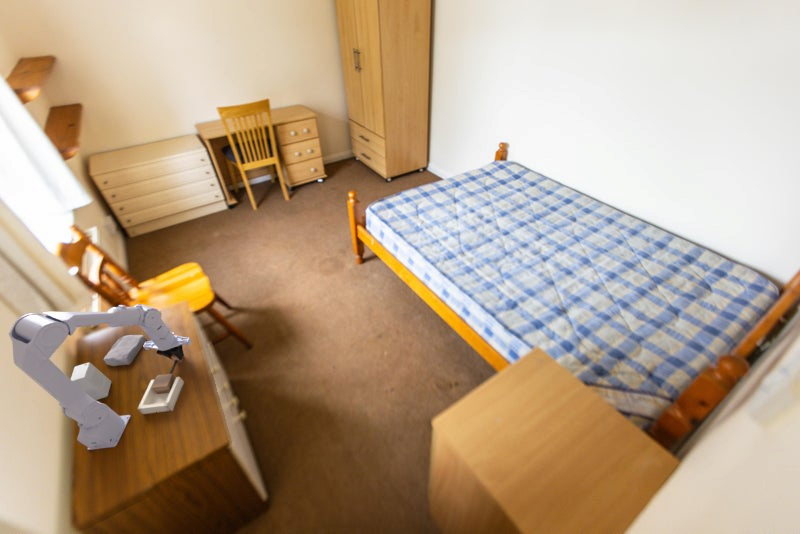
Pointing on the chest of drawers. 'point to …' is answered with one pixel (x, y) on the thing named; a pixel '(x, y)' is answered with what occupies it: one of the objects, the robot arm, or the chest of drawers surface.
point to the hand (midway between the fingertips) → (178, 357)
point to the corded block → (166, 379)
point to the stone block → (124, 350)
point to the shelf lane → (160, 398)
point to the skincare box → (91, 381)
